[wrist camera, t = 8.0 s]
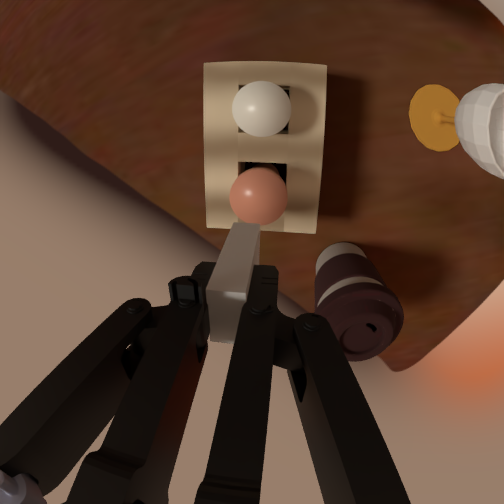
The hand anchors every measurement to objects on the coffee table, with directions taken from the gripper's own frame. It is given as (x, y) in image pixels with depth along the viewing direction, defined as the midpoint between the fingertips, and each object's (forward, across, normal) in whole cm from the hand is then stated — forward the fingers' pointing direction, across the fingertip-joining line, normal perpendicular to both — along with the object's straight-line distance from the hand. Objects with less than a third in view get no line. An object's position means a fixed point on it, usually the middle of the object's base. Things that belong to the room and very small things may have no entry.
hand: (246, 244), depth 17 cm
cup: (+21, +22, +10) cm, 32 cm away
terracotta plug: (+18, 0, 0) cm, 18 cm away
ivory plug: (+20, 0, +8) cm, 21 cm away
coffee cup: (+21, +11, -12) cm, 26 cm away
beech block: (+21, 0, +4) cm, 21 cm away
